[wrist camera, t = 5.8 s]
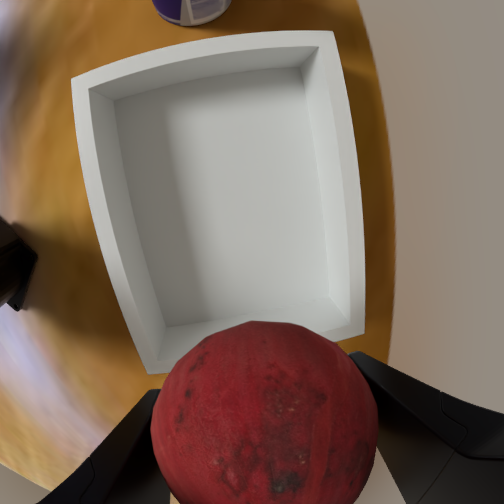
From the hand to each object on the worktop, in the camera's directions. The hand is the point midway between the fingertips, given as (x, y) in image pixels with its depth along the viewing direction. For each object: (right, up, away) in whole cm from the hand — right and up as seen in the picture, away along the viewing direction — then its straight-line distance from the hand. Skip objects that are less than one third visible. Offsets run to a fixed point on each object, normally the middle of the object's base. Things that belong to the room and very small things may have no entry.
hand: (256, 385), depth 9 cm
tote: (-2, +7, +11) cm, 13 cm away
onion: (0, +1, +2) cm, 2 cm away
